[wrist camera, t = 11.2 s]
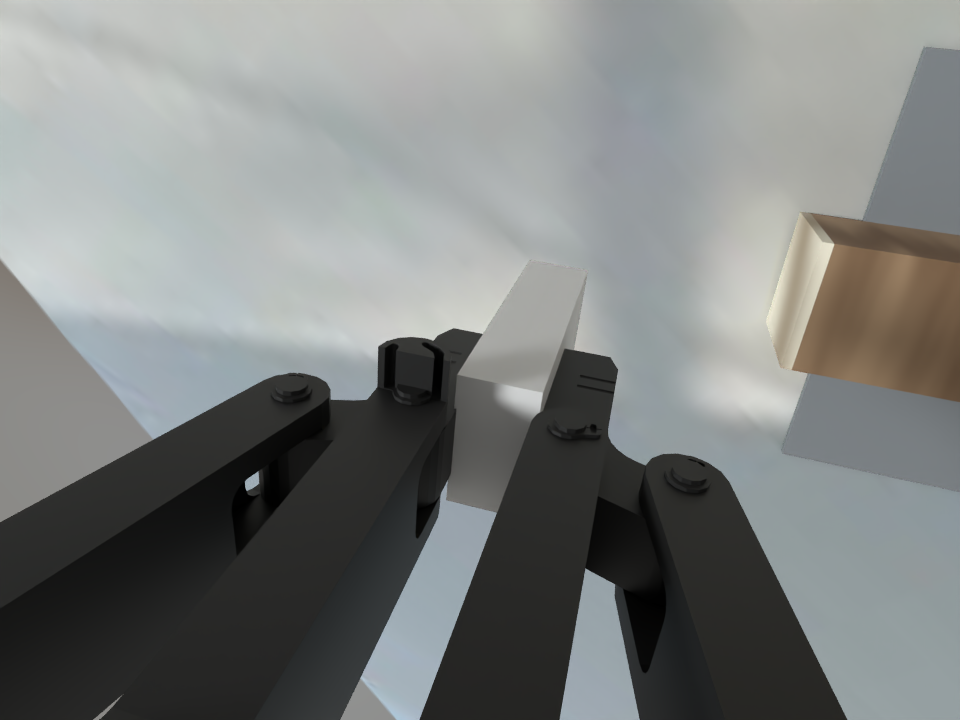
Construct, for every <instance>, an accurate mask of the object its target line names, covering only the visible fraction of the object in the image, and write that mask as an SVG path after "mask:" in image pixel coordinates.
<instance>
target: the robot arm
mask: <svg viewBox="0 0 960 720" xmlns="http://www.w3.org/2000/svg"><path fill="white" fill-rule="evenodd" d="M587 272H588V270H585V269H579V268H573V267H567V266H562V265H556V264H550V263H544V262H539V261H533V260H530V261H529V262H528V264H527V265H526V267H525V268H524V270H523V272H522V273H521V275H520V276H519V278H518V280H517V281H516V283H515V284H514V286H513V287H512V289H511V291H510V292H509V294H508V295H507V297H506V298H505V300H504V302H503V303H502V305H501V306H500V308H499V309H498V311H497V313H496V314H495V316H494V317H493V319H492V321H491V322H490V324H489V325H488V327H487V328H486V330H485V332H484V333H483V334H480V333H475V332H470V331H465V330H459V329H454V328H453V329H451V330H449V331H447V332H445V333H442V334H440V335H438V336H437V337H436V338H435V340H434V341H432V340H429V339H425V338H415V337H407V338H397V339H393V340H390V341H386V342H385V343H383V344H382V345H380V346H379V347H378V387H377V388H376V390H375V391H374V392H373V393H372V395H371V396H370V397H369V398H368V399H367V400H356V401H350V400H331V398H330V388H329V386H328V384H327V383H326V382H325V381H323V380H321V379H320V378H318V377H315V376H311V375H307V374H302V373H298V374H296V373H288V374H284V375H277V376H274V377H271V378H269V379H266V380H263V381H262V382H260V383H258V384H256V385H254V386H252V387H250V388H249V389H247V390H245V391H243V392H241V393H239V394H237V395H236V396H234V397H232V398H230V399H228V400H226V401H224V402H223V403H221V404H219V405H217V406H215V407H213V408H212V409H210V410H208V411H206V412H204V413H202V414H200V415H199V416H197V417H195V418H193V419H191V420H189V421H187V422H186V423H184V424H182V425H180V426H178V427H176V428H174V429H173V430H171V431H169V432H167V433H165V434H163V435H161V436H160V437H158V438H156V439H154V440H152V441H151V442H148V443H147V444H145V445H143V446H141V447H139V448H137V449H135V450H134V451H132V452H130V453H128V454H126V455H125V456H123V457H121V458H119V459H117V460H115V461H113V462H111V463H110V464H108V465H106V466H104V467H102V468H100V469H98V470H97V471H95V472H93V473H91V474H89V475H87V476H85V477H83V478H82V479H80V480H78V481H76V482H74V483H72V484H70V485H69V486H67V487H65V488H63V489H61V490H59V491H58V492H56V493H54V494H52V495H50V496H48V497H47V498H45V499H43V500H41V501H39V502H37V503H35V504H33V505H32V506H30V507H28V508H26V509H24V510H22V511H21V512H19V513H17V514H15V515H13V516H11V517H9V518H7V519H6V520H4V521H2V522H0V720H93V719H94V718H96V717H97V716H98V715H99V714H100V713H101V712H103V711H104V710H105V709H106V708H107V707H108V706H109V705H111V704H112V703H113V702H114V701H115V700H117V699H118V698H119V697H120V696H121V695H122V694H123V695H122V697H120V699H119V700H118V701H117V702H116V704H115V705H114V706H113V707H112V708H111V709H110V710H109V711H108V712H107V713H106V714H105V715H104V716H103V717H102V718H101V719H99V720H340V719H341V717H342V715H343V713H344V711H345V708H346V706H347V704H348V702H349V700H350V698H351V696H352V693H353V692H354V690H355V688H356V686H357V684H358V682H359V680H360V677H361V675H362V673H363V671H364V669H365V667H366V665H367V663H368V661H369V659H370V657H371V655H372V653H373V651H374V649H375V646H376V644H377V642H378V640H379V638H380V636H381V634H382V632H383V630H384V628H385V626H386V624H387V622H388V620H389V617H390V615H391V613H392V611H393V609H394V607H395V605H396V603H397V601H398V599H399V597H400V595H401V593H402V591H403V589H404V586H405V584H406V582H407V580H408V578H409V576H410V574H411V572H412V570H413V568H414V566H415V564H416V562H417V560H418V557H419V555H420V553H421V551H422V549H423V547H424V545H425V543H426V541H427V539H428V537H429V535H430V533H431V531H432V528H433V526H434V524H435V522H436V520H437V518H438V514H439V507H440V495H441V492H442V490H443V488H444V486H445V484H446V482H447V480H448V486H447V498H446V500H448V501H452V502H456V503H460V504H464V505H468V506H472V507H476V508H481V509H485V510H489V511H493V512H497V514H496V517H495V520H494V522H493V525H492V528H491V530H490V533H489V536H488V538H487V541H486V544H485V546H484V549H483V552H482V554H481V557H480V560H479V562H478V565H477V568H476V570H475V573H474V576H473V579H472V581H471V584H470V587H469V589H468V592H467V595H466V597H465V600H464V603H463V605H462V608H461V611H460V613H459V616H458V619H457V621H456V624H455V627H454V629H453V632H452V635H451V637H450V640H449V643H448V645H447V648H446V651H445V653H444V656H443V659H442V661H441V664H440V667H439V669H438V672H437V675H436V677H435V680H434V683H433V685H432V688H431V691H430V693H429V696H428V699H427V701H426V704H425V707H424V709H423V712H422V715H421V717H420V720H559V719H560V713H561V707H562V701H563V695H564V690H565V684H566V678H567V672H568V666H569V660H570V655H571V649H572V643H573V637H574V631H575V625H576V620H577V614H578V608H579V602H580V596H581V591H582V585H583V579H584V573H585V568H586V569H588V570H589V571H591V572H593V573H595V574H597V575H599V576H601V577H603V578H604V579H606V580H608V581H610V582H612V583H614V584H615V600H616V605H617V610H618V615H619V620H620V625H621V630H622V635H623V640H624V645H625V650H626V654H627V659H628V664H629V669H630V674H631V679H632V684H633V689H634V694H635V699H636V704H637V709H638V713H639V718H640V720H847V718H846V716H845V714H844V712H843V710H842V708H841V706H840V704H839V702H838V700H837V698H836V696H835V694H834V692H833V690H832V688H831V686H830V684H829V682H828V680H827V678H826V676H825V674H824V672H823V670H822V668H821V666H820V664H819V662H818V660H817V658H816V656H815V654H814V652H813V650H812V648H811V646H810V644H809V642H808V640H807V638H806V636H805V634H804V632H803V630H802V628H801V626H800V624H799V622H798V619H797V617H796V615H795V613H794V611H793V609H792V607H791V605H790V603H789V601H788V599H787V597H786V595H785V593H784V591H783V589H782V587H781V585H780V583H779V581H778V579H777V577H776V575H775V573H774V571H773V569H772V567H771V565H770V563H769V561H768V559H767V557H766V555H765V553H764V551H763V549H762V547H761V545H760V543H759V541H758V539H757V537H756V535H755V533H754V531H753V529H752V527H751V525H750V523H749V521H748V519H747V517H746V515H745V513H744V511H743V509H742V507H741V505H740V503H739V501H738V499H737V497H736V495H735V493H734V491H733V489H732V487H731V485H730V483H729V481H728V480H727V479H726V477H725V476H724V475H723V474H722V472H721V471H719V470H718V469H716V468H715V467H713V466H712V465H710V464H709V463H707V462H705V461H703V460H701V459H698V458H695V457H692V456H686V455H681V454H662V455H659V456H657V457H654V458H652V459H651V460H650V461H649V462H648V463H647V465H646V466H645V465H643V464H641V463H638V462H636V461H634V460H632V459H630V458H628V457H626V456H625V455H624V454H622V453H621V452H620V451H618V450H617V449H616V448H615V447H614V445H613V444H612V443H611V441H610V439H609V437H608V426H609V420H610V414H611V408H612V402H613V397H614V391H615V385H616V379H617V373H618V369H617V367H616V366H615V364H614V363H613V361H612V359H611V358H610V357H606V356H601V355H596V354H591V353H585V352H580V351H575V350H574V346H575V341H576V335H577V329H578V324H579V318H580V312H581V306H582V301H583V295H584V289H585V284H586V278H587ZM258 471H259V484H258V485H257V486H256V487H254V488H253V489H251V490H248V491H246V489H245V481H246V480H247V479H248V478H249V477H251V476H252V475H253V474H255V473H256V472H258Z"/></svg>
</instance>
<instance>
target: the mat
mask: <svg viewBox="0 0 960 720" xmlns="http://www.w3.org/2000/svg"><path fill="white" fill-rule="evenodd" d="M862 221H866V222H873V223H880V224H886V225H893V226H900V227H907V228H914V229H920V230H927V231H934V232H941V233H947V234H954V235H960V50H951V49H941V48H931V47H924V48H923V51H922V54H921V57H920V60H919V63H918V65H917V68H916V71H915V74H914V77H913V79H912V82H911V85H910V88H909V91H908V94H907V96H906V99H905V102H904V105H903V108H902V110H901V113H900V116H899V119H898V122H897V125H896V127H895V130H894V133H893V136H892V139H891V141H890V144H889V147H888V150H887V153H886V156H885V158H884V161H883V164H882V167H881V170H880V172H879V175H878V178H877V181H876V184H875V187H874V189H873V192H872V195H871V198H870V201H869V204H868V206H867V209H866V212H865V215H864V218H863V220H862ZM781 450H782V454H786V455H791V456H795V457H800V458H805V459H809V460H814V461H819V462H823V463H828V464H832V465H837V466H842V467H846V468H851V469H856V470H860V471H865V472H869V473H874V474H879V475H883V476H888V477H893V478H897V479H902V480H906V481H911V482H916V483H920V484H925V485H930V486H934V487H939V488H943V489H948V490H953V491H957V492H960V402H956V401H950V400H945V399H940V398H935V397H930V396H924V395H919V394H914V393H909V392H904V391H898V390H893V389H888V388H883V387H878V386H872V385H867V384H862V383H857V382H852V381H846V380H841V379H836V378H831V377H826V376H820V375H815V374H810V373H808V376H807V378H806V381H805V384H804V387H803V390H802V392H801V395H800V398H799V401H798V404H797V407H796V409H795V412H794V415H793V418H792V421H791V423H790V426H789V429H788V432H787V435H786V438H785V440H784V443H783V446H782V449H781Z"/></svg>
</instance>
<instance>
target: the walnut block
mask: <svg viewBox="0 0 960 720" xmlns="http://www.w3.org/2000/svg"><path fill="white" fill-rule="evenodd" d="M766 323H767V326H768V329H769V332H770V335H771V339H772V342H773V345H774V348H775V351H776V354H777V358H778V361H779V364H780V367H781V368H784V369H789V370H794V371H800V372H805V373H810V374H815V375H820V376H826V377H831V378H836V379H841V380H846V381H852V382H857V383H862V384H867V385H872V386H878V387H883V388H888V389H893V390H898V391H904V392H909V393H914V394H919V395H924V396H930V397H935V398H940V399H945V400H950V401H956V402H960V235H954V234H947V233H941V232H934V231H927V230H920V229H914V228H907V227H900V226H893V225H886V224H880V223H873V222H866V221H859V220H853V219H846V218H839V217H832V216H825V215H819V214H812V213H805V212H800V214H799V217H798V221H797V224H796V227H795V230H794V233H793V237H792V240H791V243H790V246H789V250H788V253H787V256H786V259H785V262H784V266H783V269H782V272H781V275H780V279H779V282H778V285H777V288H776V291H775V295H774V298H773V301H772V304H771V308H770V311H769V314H768V317H767V320H766Z"/></svg>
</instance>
